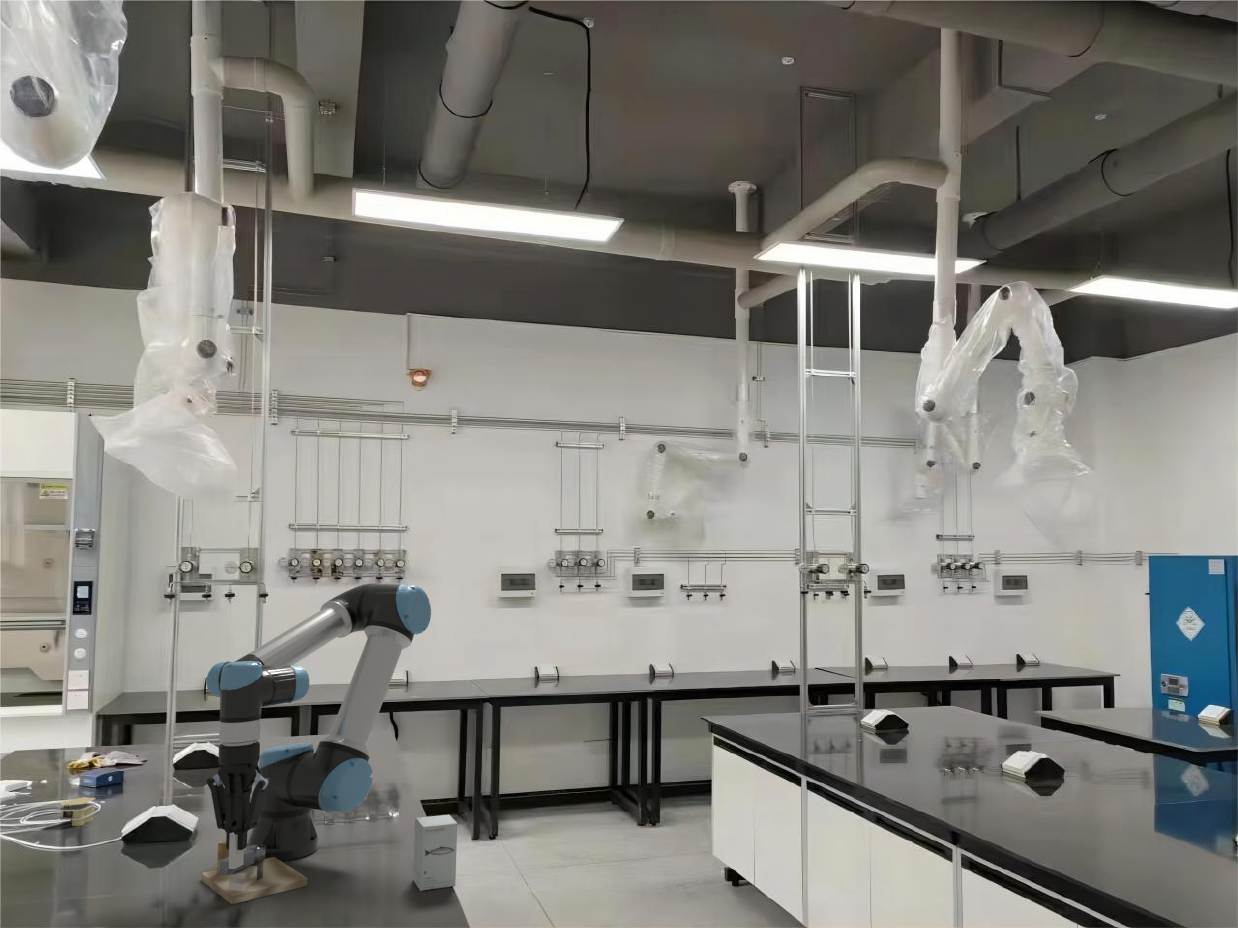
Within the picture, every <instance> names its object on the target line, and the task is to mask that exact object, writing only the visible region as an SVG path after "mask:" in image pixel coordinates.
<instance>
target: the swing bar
mask: <svg viewBox="0 0 1238 928" xmlns="http://www.w3.org/2000/svg"><path fill="white" fill-rule="evenodd" d="M265 848H266V846H265V845H261V844H257V845H251V846H248V847H246V848H245V849H244V859H243V865H242V866H240V867H238V868H236V869H229V857H227V858H225V859H223V860H221V861H220V874H223V875H230V874H232V873H234V872H236V871H238V870H240V869H243V868H245V867H247V866H249V865H251V864H253V863H258V862H262V861H264V860H265Z"/></svg>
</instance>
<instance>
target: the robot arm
mask: <svg viewBox="0 0 1238 928" xmlns="http://www.w3.org/2000/svg"><path fill="white" fill-rule="evenodd" d="M431 608H432V606H431V603H430V598H429V596H428V594H427V593H426V592H425V590H424V589H423V588H422V587H420V586H418V585H413V584H408V583H401V584H393V583H391V584H389V583H364V584H361V585H359V586H356V587H353V588H351V589H349V590H346V591H344V592H342V593H340V594H339V595H336V596H334V597H332V598H331V599H329V600H328V601H326V602H324V603H322V605H321V607H320V609H319V610H318V611H317V612H316V613H314V614H312V615H310V616H309V617H307V618H306V619H304V620H303V621H301V622H299V623H297V624H295V625H294V626H292V627H290V628H289V629H287V630H285V631H283V633H280V634H279V635H277V636H275V637H274V638H271V639H270V640H268V641H267V642H265V643H264V644H262V645H259V647H257V648H256V649H254V650H252V651H250V652H248V653H247V654H245V655H244V656H242V657H240V658H238V659H237V660H235V661H228V660H227V661H223V662H222V661H221V662H217V663H215V664H214V665H213V666H212V667H210V670H209V671H208V673H207V676H206V688H207V690H208V692H209V694H211V695H212V696H213V697H216V698H220V699H219V701H220V702H219V703H220V704H219V705H220V706H219V725H218V726H219V728H218V731H219V732H218V742H220V745H219V746H218V760H217V761H218V764H219V768H218V770H217V774H215V775H214V776H213V777H208V778H207V779H206V784H207V786H208V788H209V791H210V794H211V800H212V805H213V811H214V817H215V822H216V828H217V829H218V830H221V829H222V830H224V831H225V833H226V839H225V840H226V848H227V849H229V869H236V868H238V867H240V866H242V865H243V859H244V850H246V849H247V847H248V846H251V845H257V844H261V845H265V846H266V848H265V859H267V858H272V857H275V858H276V859H278V860H280V861H281V862H284V861H290V860H296V859H300V858H303V857H306V856H308V855H311V854H313V853H315V852H316V851H317V850H318V849H319V836H318V832H317V830H316V826H315V821H314V819H313V815H312V810H318V811H323V812H325V813H328V814H334V813H338V814H346V813H349V812H352V811H353V810H355V809H356V808H358V807H359V806H361V804H363V802H364V801H365V800H366V798H367V796H368V794H369V792H370V790H371V788H372V783H373V776H372V774H373V769H372V766H371V764H370V763H369V760H370V756H371V755H370V753H369V751H368V749H367V746H368V743H369V741H370V738H371V735H372V733H373V730H374V727H375V724H376V721H377V719H378V716H379V713H380V710H381V708H382V706H383V702H384V699H385V697H386V696H387V692H388V689H389V687H390V684H391V681H392V678H393V676H394V673H395V669H396V667H397V664H398V661H399V659H400V656H401V654H402V651H403V650H405V649H406V648H409V647H410V646H411V645H412V642H413V639H414V636H415V635H417V636H418V635H420V634H423V633H424V632H425V631H426V630H427V629H428V627H429V624H430V621H431V618H432V609H431ZM363 631H364V633H365V636H366V638H367V640H366V642H365V644H364V647H363V648H362V652H361V654H360V657H359V660H358V661H357V665H356V666H355V670H354V672H353V675H352V677H351V680H350V683H349V685H348V687H347V690H346V693H345V695H344V698H343V700H342V702H341V705H340V708H339V710H338V713H337V716H336V718H335V720H334V723H333V726H332V728H331V731H330V733H329V735H328V736H327V737H325V738H323V739H320V741H319V742H318V746H317V747H316V750H315V748H314V744H313V743H311V742H300V743H299V742H298V743H291V744H284V745H283V744H282V745H279V746H275V747H270V748H267V749H265V750H263V751H262V753H261V743H260V741H259V739H260V738H261V721H262V719H261V718H262V708H264V707H271V706H277V705H282V704H292V703H293V702H296V701H299V700H302V699H304V697H305V696H306V695H307V694H308V692H309V689H310V676H309V673H308V671H307V669H306V668H304V667H303V666H302V665H298V664H297V663H299V662H300V661H302V660H304V659H305V658H307V657H308V656H310V655H311V654H313V653H315V652H317V650H319V649H321V648H323V647H324V646H326V645H327V644H329V643H330V642H331V641H333V640H335V639H336V638H338V639H341V638H345V637H347V636H349V635H350V634H352V633H356V632H363ZM253 788H254V789H253ZM250 830H251V831H250ZM249 831H250V835H249V837H248V833H249Z"/></svg>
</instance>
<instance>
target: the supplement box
mask: <svg viewBox="0 0 1238 928" xmlns="http://www.w3.org/2000/svg"><path fill="white" fill-rule="evenodd" d="M457 839H458V822H457V821H456V820H455V819H454V818H453V817H452V816H451V815H450V814H442V815H434V816H432V815H431V816H430V815H429V816H421V817H415V818H414V840H413V841H414V842H413V843H414V845H413V868H412V869H413V872H412V873H413V874H412V875H413V876H412V879H413V882H414V884H415V885H416V886H417V888H418V890H419V891H420V892H423V891H426V890H427V891H428V890H433V889H443V888H449V887H450V888H451V885H452V888H453V887H454V888H455V886H456V882H457V879H456V876H457V871H456V869H457V844H458V843H457V842H458V841H457Z"/></svg>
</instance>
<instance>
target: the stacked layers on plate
mask: <svg viewBox="0 0 1238 928" xmlns="http://www.w3.org/2000/svg"><path fill="white" fill-rule="evenodd" d="M96 799H97V798H95V797H85V796H83V797H79V798H74V799H71V800H66V801H63V802H60V805H61V806H62V805H63V807H60V808H59V811H60V812H61V816H59V817H58V818H59V820H60V821H67V820H68V821H70V822H69V823H70V824H71V826H72V827H80V826H83V825H85V823H88V822H91V821H93V820H94V814H96V811H94V807H95V806H96V805H97V803H96V802H95V803H94V802H91V801H93V800H96Z"/></svg>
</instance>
